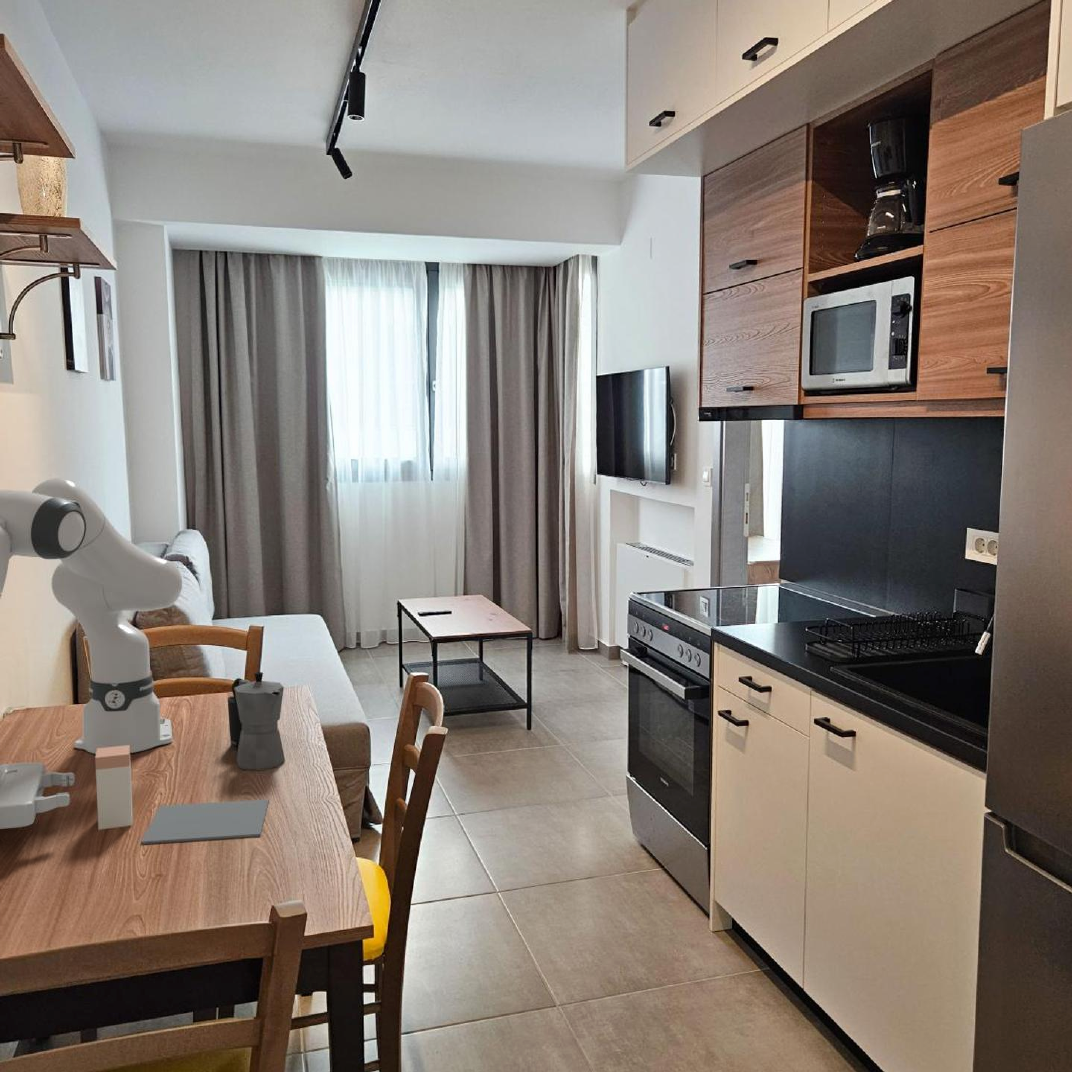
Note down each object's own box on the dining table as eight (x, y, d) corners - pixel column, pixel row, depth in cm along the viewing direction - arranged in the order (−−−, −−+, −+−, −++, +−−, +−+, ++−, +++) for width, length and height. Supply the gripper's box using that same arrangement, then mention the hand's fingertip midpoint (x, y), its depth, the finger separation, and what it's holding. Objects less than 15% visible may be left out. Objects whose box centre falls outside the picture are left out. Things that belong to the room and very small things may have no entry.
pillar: (100, 818, 163) (97, 748, 162) (132, 814, 165) (129, 745, 163) (98, 829, 158) (95, 757, 157) (131, 825, 160) (129, 754, 159)
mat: (160, 808, 167) (159, 805, 167) (268, 801, 171) (268, 799, 171) (141, 844, 153) (141, 841, 153) (260, 836, 156) (260, 833, 156)
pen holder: (235, 737, 206) (234, 691, 205) (280, 737, 207) (279, 691, 206) (223, 752, 197) (222, 703, 196) (270, 751, 197) (269, 703, 196)
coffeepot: (301, 764, 190) (299, 673, 188) (259, 776, 183) (257, 682, 181) (255, 747, 200) (253, 660, 198) (214, 758, 193) (211, 669, 191)
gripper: (-39, 803, 144) (65, 791, 149) (-16, 759, 163) (75, 750, 168) (-37, 845, 144) (67, 831, 149) (-14, 796, 163) (77, 786, 168)
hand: (71, 788), depth 159 cm, fingers open, 8 cm apart
